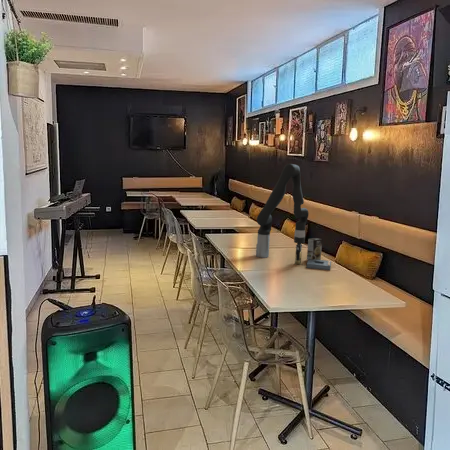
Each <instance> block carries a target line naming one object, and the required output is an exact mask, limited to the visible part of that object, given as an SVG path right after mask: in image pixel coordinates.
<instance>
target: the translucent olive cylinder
mask: <svg viewBox="0 0 450 450" xmlns="http://www.w3.org/2000/svg"><path fill="white" fill-rule="evenodd" d="M297 253H299V252H297ZM302 253H303V252H302V251H301V252H300V258H299V261H298V260H296V251H295V257H294V265H296V266H301V265H302V257H303V256H302Z"/></svg>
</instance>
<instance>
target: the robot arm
mask: <svg viewBox="0 0 450 450" xmlns="http://www.w3.org/2000/svg"><path fill="white" fill-rule="evenodd" d="M290 179H291V180H292V191H291V194H292V195H291V196H292V201H293V215H294V217H295V218H296V219H299V220H298V221H296V222H295V225H294V226H295V227H294V237H293V243H295V244H296V245H295V252H296V260H298V261H299V258H300V252H302V249H303V248H302V247H303V245H302V244H305V242H306V241H305V240H306V224H307V221H308V218H309V214H310V213H309V210H308V209H307V208H306V207H302V205H303V204H305V201H304V200H305V199H304V195H303V191H302V185H301V169H300V166H299V165H298V164H293V163H286V165H284V167H283V169H282V170H281V174H280V176H279V178H278V181H277V182H276V184H275V185H274V187H273V189H272V191H271V193H270V194H269V197H268V199H267V200H266V202H265V204H264V206H263V208H261V210H260V212H259V213H258V215H257V217H256V222H257V224H258V225H259V229H257V242H256V249H255V257H257V258H269V256H270V240H271V239H270V238H271V237H270V236H271V231H272V224H273V217H272V215H271V214H272V213H273V212H274V210H275V209H276V208H277V207H278V206H279V205H280V204H281V202H282V200H283V199H284V197H285V194H286V190H287V184H288V183H289V181H290ZM301 207H302V208H301ZM297 252H299V253H297Z"/></svg>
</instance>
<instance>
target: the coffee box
mask: <svg viewBox="0 0 450 450" xmlns="http://www.w3.org/2000/svg"><path fill="white" fill-rule="evenodd" d="M322 248H323V239H322V238H317V237H313V238H308V240H307V252H306V260H307V261H308V259H316V260H322Z"/></svg>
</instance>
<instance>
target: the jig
mask: <svg viewBox="0 0 450 450" xmlns="http://www.w3.org/2000/svg"><path fill="white" fill-rule="evenodd" d="M331 266H332V260H329V259H328V260H324V259H321V260H316V259H308V260H307V263H306V269H313V270H323V271H331V268H332V267H331Z"/></svg>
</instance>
